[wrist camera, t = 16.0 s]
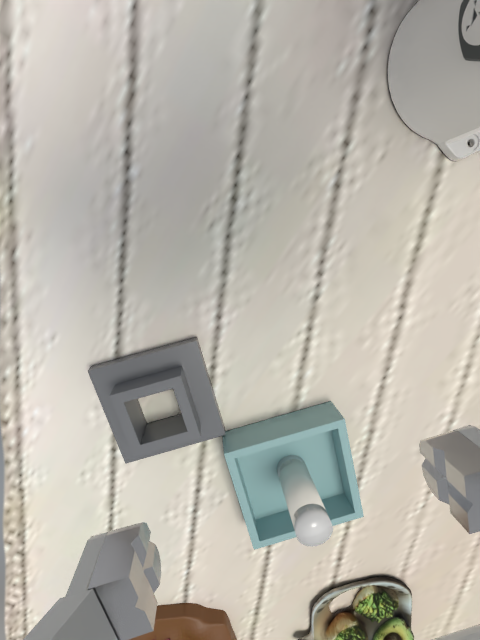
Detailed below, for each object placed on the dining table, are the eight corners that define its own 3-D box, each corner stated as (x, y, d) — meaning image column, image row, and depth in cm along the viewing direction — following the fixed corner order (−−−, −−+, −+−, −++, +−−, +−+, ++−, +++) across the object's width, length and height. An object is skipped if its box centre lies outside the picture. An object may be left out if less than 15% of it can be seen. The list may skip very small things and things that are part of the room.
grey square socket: (196, 336, 40) (195, 349, 36) (224, 428, 44) (227, 449, 39) (91, 366, 40) (78, 381, 36) (128, 455, 43) (119, 480, 39)
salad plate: (294, 666, 56) (302, 703, 52) (290, 585, 52) (298, 618, 47) (403, 646, 58) (420, 680, 53) (408, 566, 53) (427, 596, 49)
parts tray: (330, 401, 44) (344, 418, 40) (349, 491, 48) (363, 516, 44) (222, 432, 44) (224, 454, 39) (249, 521, 48) (254, 549, 43)
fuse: (302, 451, 45) (329, 511, 35) (308, 475, 46) (335, 540, 36) (273, 459, 44) (292, 521, 35) (280, 484, 45) (300, 550, 36)
